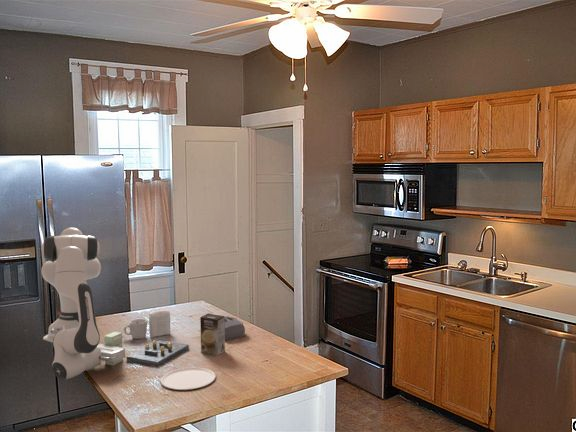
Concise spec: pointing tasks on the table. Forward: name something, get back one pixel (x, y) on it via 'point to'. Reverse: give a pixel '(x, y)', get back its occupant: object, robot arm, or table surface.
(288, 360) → the table surface
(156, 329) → the photo printer
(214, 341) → the coffee box
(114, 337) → the block
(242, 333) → the soft grey pack
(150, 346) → the chassis
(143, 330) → the cup
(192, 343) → the table surface
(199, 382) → the plate
